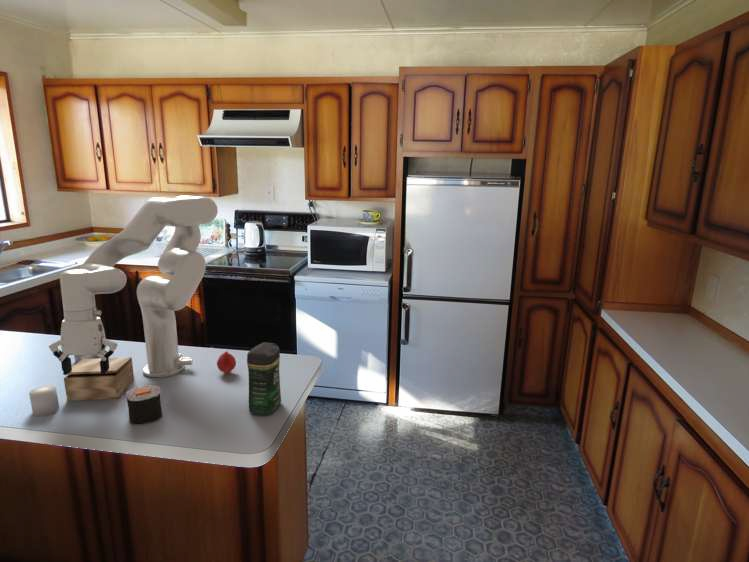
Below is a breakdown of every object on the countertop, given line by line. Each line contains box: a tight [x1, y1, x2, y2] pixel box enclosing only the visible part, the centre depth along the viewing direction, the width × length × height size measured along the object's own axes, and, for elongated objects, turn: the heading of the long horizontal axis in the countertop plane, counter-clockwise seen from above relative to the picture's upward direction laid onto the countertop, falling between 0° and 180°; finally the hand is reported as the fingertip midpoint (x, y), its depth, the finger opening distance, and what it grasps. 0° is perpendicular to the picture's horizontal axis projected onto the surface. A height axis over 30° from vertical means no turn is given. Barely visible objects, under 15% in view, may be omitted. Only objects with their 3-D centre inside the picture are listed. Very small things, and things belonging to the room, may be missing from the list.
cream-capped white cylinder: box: [28, 384, 60, 417], centre depth 127 cm, size 6×6×6 cm
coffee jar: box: [246, 341, 282, 416], centre depth 129 cm, size 10×8×19 cm
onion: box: [216, 350, 237, 375], centre depth 151 cm, size 6×6×8 cm
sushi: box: [125, 384, 163, 426], centre depth 125 cm, size 8×8×8 cm
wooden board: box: [62, 356, 133, 376], centre depth 138 cm, size 14×12×1 cm
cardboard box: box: [63, 358, 135, 402], centre depth 139 cm, size 14×12×7 cm
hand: (86, 372), depth 131 cm, fingers open, 9 cm apart
